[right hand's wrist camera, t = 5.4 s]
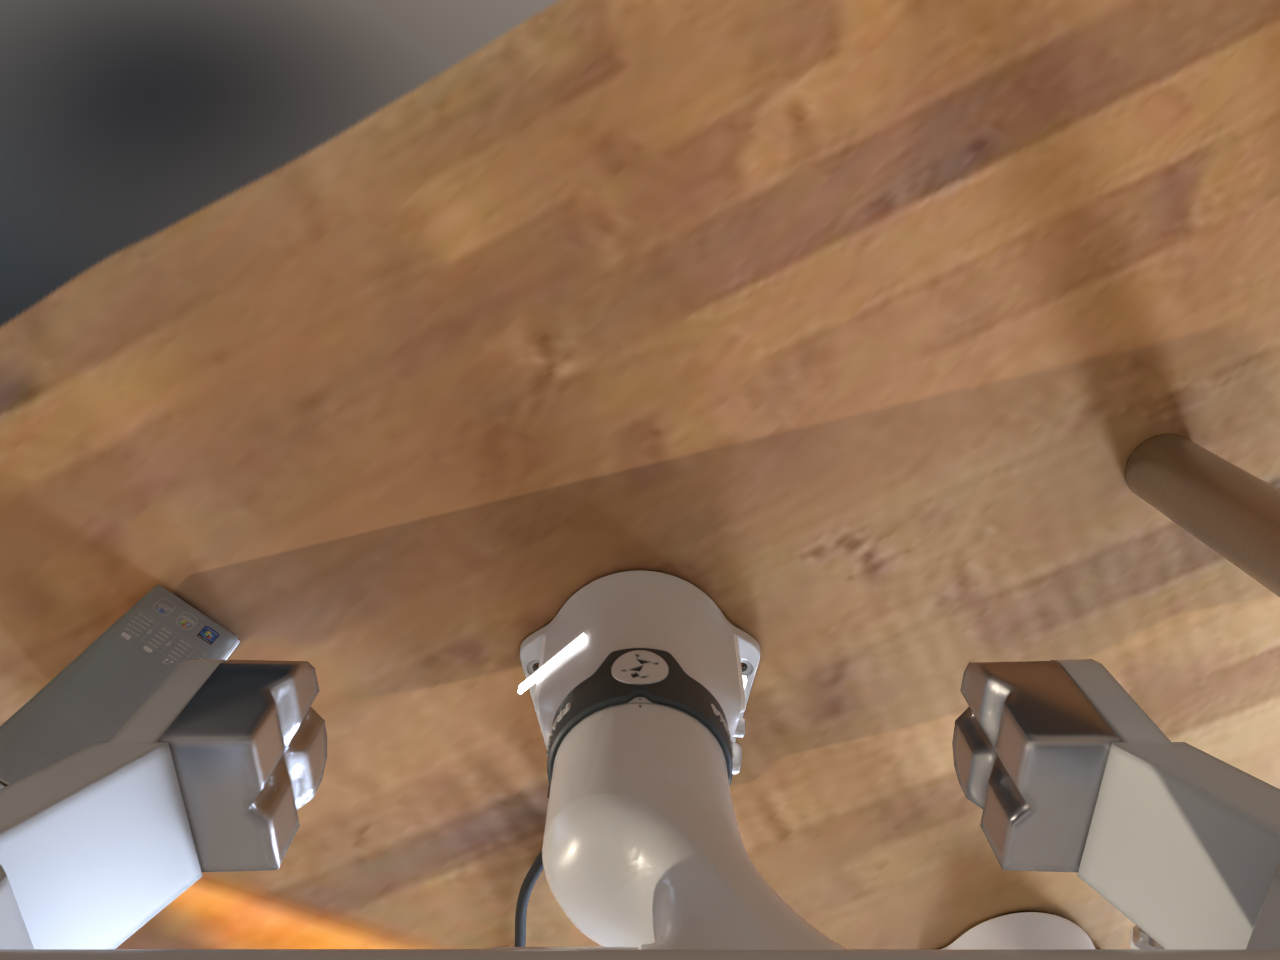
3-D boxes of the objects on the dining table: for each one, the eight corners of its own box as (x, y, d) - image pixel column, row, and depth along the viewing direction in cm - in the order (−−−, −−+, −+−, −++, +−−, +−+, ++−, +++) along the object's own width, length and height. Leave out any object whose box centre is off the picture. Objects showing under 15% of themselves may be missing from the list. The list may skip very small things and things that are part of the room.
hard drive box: (158, 579, 64) (-38, 757, 46) (244, 636, 66) (90, 830, 47) (60, 704, 68) (-155, 914, 50) (144, 755, 70) (-33, 975, 52)
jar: (1148, 424, 60) (1340, 531, 43) (1210, 446, 60) (1421, 559, 44) (1111, 487, 61) (1282, 612, 45) (1171, 507, 62) (1361, 638, 46)
